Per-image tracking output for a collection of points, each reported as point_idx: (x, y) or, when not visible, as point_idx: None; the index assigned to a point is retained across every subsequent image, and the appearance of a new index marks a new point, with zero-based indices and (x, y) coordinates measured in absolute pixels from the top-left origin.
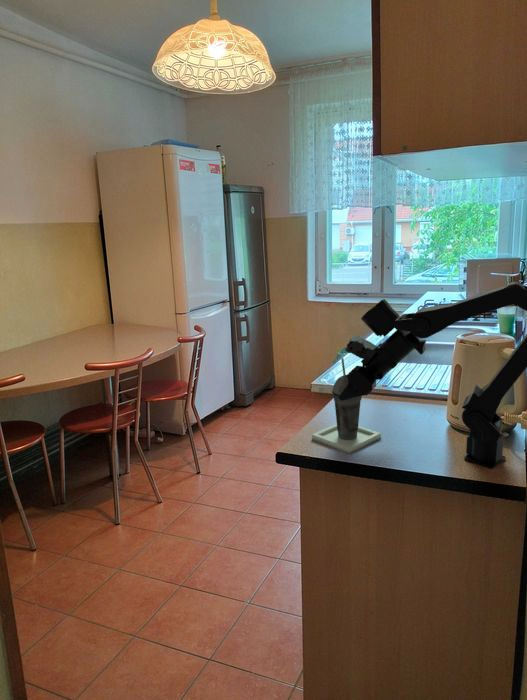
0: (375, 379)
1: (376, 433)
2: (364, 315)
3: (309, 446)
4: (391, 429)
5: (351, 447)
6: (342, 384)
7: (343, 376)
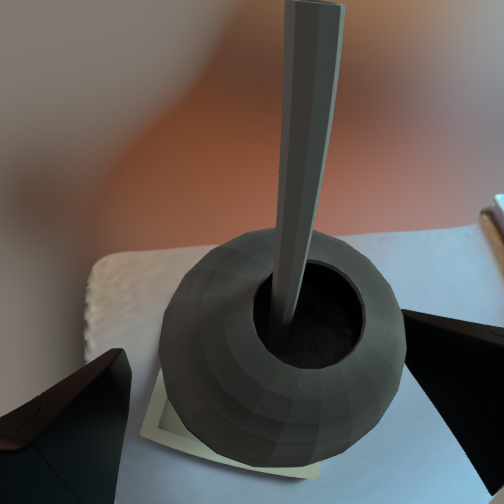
0: (479, 470)
1: (308, 468)
2: None
3: (144, 302)
4: (392, 463)
5: (150, 439)
6: (174, 328)
7: (346, 253)
